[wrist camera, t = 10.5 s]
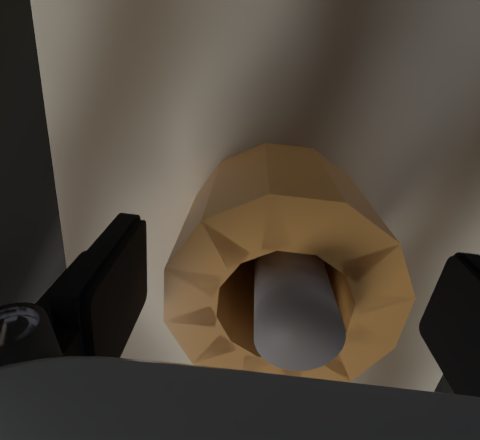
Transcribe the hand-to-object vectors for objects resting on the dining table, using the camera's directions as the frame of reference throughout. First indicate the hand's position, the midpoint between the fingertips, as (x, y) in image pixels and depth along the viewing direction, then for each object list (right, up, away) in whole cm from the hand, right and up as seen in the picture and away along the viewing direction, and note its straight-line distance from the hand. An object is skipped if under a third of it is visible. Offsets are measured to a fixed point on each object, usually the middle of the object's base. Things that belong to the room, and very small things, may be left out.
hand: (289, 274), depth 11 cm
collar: (0, +1, +3) cm, 3 cm away
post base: (0, +2, +4) cm, 5 cm away
